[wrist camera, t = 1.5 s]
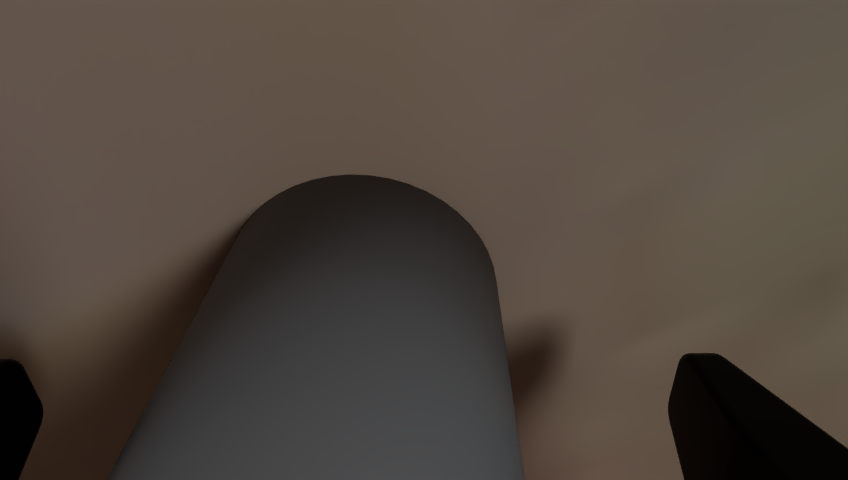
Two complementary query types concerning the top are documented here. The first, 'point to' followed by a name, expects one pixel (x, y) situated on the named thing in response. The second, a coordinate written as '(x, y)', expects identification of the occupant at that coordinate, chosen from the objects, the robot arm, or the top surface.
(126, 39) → the top surface
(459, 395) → the pink and grey capsule
